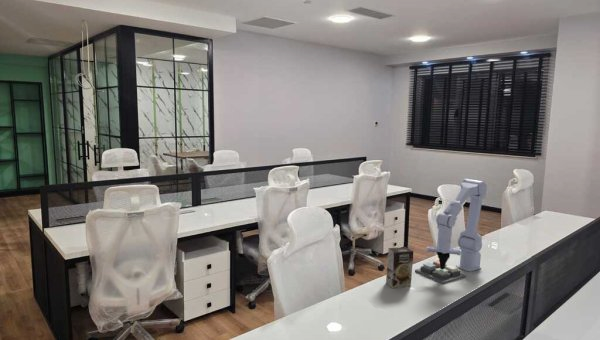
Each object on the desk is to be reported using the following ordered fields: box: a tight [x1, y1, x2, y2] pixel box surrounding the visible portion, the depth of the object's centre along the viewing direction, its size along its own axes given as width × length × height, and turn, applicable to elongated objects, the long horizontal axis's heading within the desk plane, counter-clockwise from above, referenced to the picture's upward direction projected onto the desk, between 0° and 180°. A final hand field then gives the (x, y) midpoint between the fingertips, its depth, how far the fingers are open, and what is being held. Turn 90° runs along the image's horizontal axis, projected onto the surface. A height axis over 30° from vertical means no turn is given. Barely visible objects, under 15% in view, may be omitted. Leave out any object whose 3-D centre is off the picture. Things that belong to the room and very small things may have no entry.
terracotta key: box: [432, 259, 447, 267], centre depth 195 cm, size 4×4×2 cm
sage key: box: [435, 268, 448, 275], centre depth 186 cm, size 4×4×2 cm
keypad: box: [414, 264, 467, 285], centre depth 191 cm, size 16×16×3 cm
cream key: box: [445, 264, 459, 273], centre depth 189 cm, size 4×4×2 cm
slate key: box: [422, 262, 436, 270], centre depth 192 cm, size 4×4×2 cm
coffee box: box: [385, 246, 414, 289], centre depth 177 cm, size 9×6×16 cm
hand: (441, 268), depth 186 cm, fingers closed
